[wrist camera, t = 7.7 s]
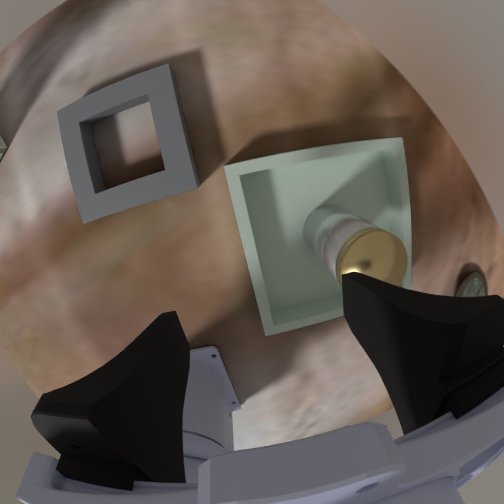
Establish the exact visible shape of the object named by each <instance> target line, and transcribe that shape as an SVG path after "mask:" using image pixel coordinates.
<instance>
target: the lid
mask: <svg viewBox="0 0 504 504" xmlns="http://www.w3.org/2000/svg"><path fill="white" fill-rule="evenodd" d="M478 296H487V293H486V283H485V280H484V278H483V276H482V274H481V273H479V272H476V271H474V272H472V273H470V274H469V275H468V276H466V277H465V279H464V280H463V281H462V283H461V284H460V286H459V288H458V290H457V291H456V294H455V296H454V297H478Z"/></svg>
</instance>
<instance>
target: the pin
mask: <svg viewBox="0 0 504 504" xmlns="http://www.w3.org/2000/svg"><path fill="white" fill-rule="evenodd" d="M303 236H304V240H305V242H306V244H307V246H308V247H309V248H310V249H311V250H312V252H313V253H314V254H315V255H316V256H317V258H318V259H319V260H320V261H321V263H322V264H323V265H324V266H325V267H326V269H327V270H328V271H329V272H330V274H331V275H332V276H333V277H334V278H335V280H336V281H337V282H338V283H339V285H340V286H341V287H342V278H341V275H342V274H346V273H349V272H353V271H355V272H359V273H362V274H365V275H368V276H371V277H373V278H376V279H379V280H381V281H384V282H387V283H390V284H393V285H396V286H400V284H401V282H402V281H403V279H404V277H405V274H406V270H407V264H408V257H407V251H406V248H405V246H404V244H403V243H402V241H401V240H400V239H399V238H398V237H396V236H395V235H393V234H391V233H389V232H388V231H386V230H384V229H382V228H380V227H378V226H376V225H374V224H373V223H371V222H369V221H367V220H365V219H363V218H361V217H359V216H357V215H355V214H353V213H351V212H349V211H347V210H345V209H343V208H341V207H339V206H337V205H332V204H326V205H322V206H319V207H317V208H316V209H314V210H313V211H312V212H311V213H310V214H309V215H308V217H307V219H306V220H305V223H304V227H303Z"/></svg>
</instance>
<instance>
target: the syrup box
mask: <svg viewBox="0 0 504 504" xmlns="http://www.w3.org/2000/svg"><path fill="white" fill-rule="evenodd" d="M6 150H7V146H6V144H5V142H4V140H3V138H2V137H1V135H0V160H1V159H2V157H3V155H4V153H5V151H6Z"/></svg>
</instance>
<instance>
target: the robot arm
mask: <svg viewBox="0 0 504 504" xmlns="http://www.w3.org/2000/svg"><path fill="white" fill-rule="evenodd" d="M341 278H342V294H343V314H344V316H345V318H346V321H347V323H348V325H349V327H350V329H351V331H352V333H353V334H354V336H355V337H356V339H357V340H358V342H359V343H360V345H361V346H362V348H363V349H364V351H365V352H366V353H367V355H368V356H369V358H370V359H371V361H372V362H373V364H374V366H375V367H376V369H377V371H378V372H379V374H380V376H381V378H382V381H383V383H384V385H385V387H386V389H387V391H388V394H389V396H390V398H391V401H392V403H393V405H394V408H395V410H396V413H397V416H398V418H399V421H400V424H401V427H402V430H403V433H404V436H402V437H400V438H397V439H395V440H393V438H392V436H391V434H390V433H389V431H388V429H387V427H386V425H382V424H377V423H371V422H366V423H360V424H356V425H351V426H346V427H343V428H339V429H336V430H333V431H329V432H326V433H322V434H319V435H315V436H311V437H307V438H303V439H299V440H294V441H290V442H285V443H280V444H275V445H270V446H264V447H258V448H252V449H245V450H237V451H234V443H233V422H232V411H238V410H240V409H241V405H240V403H239V401H238V398H237V396H236V394H235V391H234V389H233V386H232V384H231V381H230V379H229V377H228V374H227V372H226V369H225V367H224V364H223V361H222V359H221V356H220V354H219V351H218V349H217V348H216V347H215V346H208V347H203V348H197V349H191V350H190V346H189V344H188V341H187V339H186V336H185V334H184V331H183V329H182V326H181V324H180V321H179V319H178V316H177V313H176V311H171V312H166V313H162V314H161V315H159V316H158V317H157V318H156V319H155V320H154V321H153V322H152V323H151V324H150V325H149V326H148V327H147V328H146V329H145V330H144V331H143V332H142V333H141V334H140V335H139V336H138V337H137V338H136V339H135V340H134V341H133V342H132V343H130V344H129V345H128V346H127V347H126V348H125V349H124V350H123V351H122V352H120V353H119V354H118V355H117V356H115V357H114V358H113V359H111V360H110V361H109V362H107V363H106V364H105V365H103V366H102V367H100V368H98V369H97V370H95V371H94V372H92V373H90V374H89V375H87V376H85V377H83V378H81V379H79V380H77V381H75V382H73V383H71V384H69V385H67V386H64V387H62V388H59V389H56V390H53V391H50V392H48V393H44V394H43V395H42V396H41V398H40V400H39V402H38V403H37V405H36V407H35V409H34V411H33V412H32V415H31V419H32V422H33V424H34V426H35V428H36V429H37V431H38V432H39V433H40V434H41V435H42V436H43V437H44V438H45V439H46V440H47V441H48V442H49V443H50V444H51V445H52V446H53V447H54V448H55V449H56V450H57V451H58V452H59V453H60V454H61V457H60V459H59V460H57V459H56V458H54V457H52V456H48V455H45V454H41V453H38V452H33V454H32V456H31V458H30V460H29V463H28V465H27V468H26V470H25V473H24V475H23V478H22V481H21V483H20V486H19V489H18V492H17V495H16V497H17V498H18V499H19V500H20V501H22V502H23V503H25V504H464V502H463V500H462V498H461V496H460V494H459V492H458V490H457V489H458V488H460V487H461V486H463V485H464V484H465V483H467V482H468V481H469V480H471V479H472V478H474V477H475V476H476V475H478V474H479V473H480V472H481V471H483V470H484V469H485V468H486V467H488V466H489V465H490V464H491V463H492V462H493V461H495V460H496V459H497V458H498V457H499V456H500V455H502V454H503V453H504V347H503V345H504V299H503V298H501V297H500V296H498V295H489V296H478V297H452V296H441V295H433V294H427V293H422V292H418V291H413V290H409V289H406V288H403V287H399V286H396V285H393V284H390V283H387V282H384V281H381V280H379V279H376V278H373V277H371V276H368V275H365V274H362V273H359V272H355V271H353V272H349V273H346V274H342V275H341ZM213 354H215V355H216V356H212V355H213Z"/></svg>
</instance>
